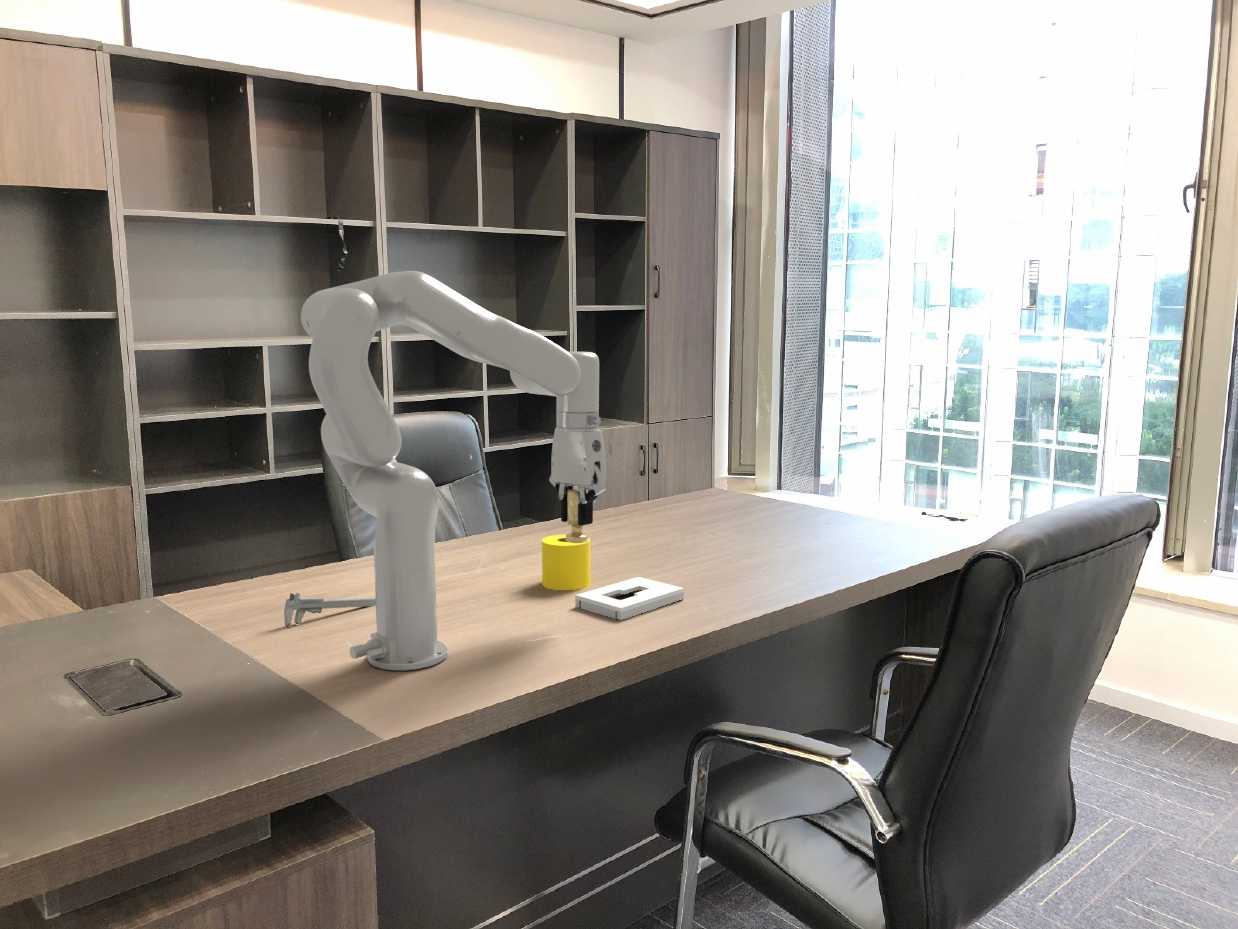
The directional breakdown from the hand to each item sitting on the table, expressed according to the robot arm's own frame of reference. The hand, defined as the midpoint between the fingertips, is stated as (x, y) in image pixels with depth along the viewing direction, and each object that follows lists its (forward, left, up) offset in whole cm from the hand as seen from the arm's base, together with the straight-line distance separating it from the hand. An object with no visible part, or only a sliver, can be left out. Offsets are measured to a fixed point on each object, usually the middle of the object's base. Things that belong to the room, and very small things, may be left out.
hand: (576, 521), depth 171 cm
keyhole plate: (+14, 0, -18) cm, 23 cm away
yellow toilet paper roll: (+15, +19, -19) cm, 31 cm away
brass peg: (0, 0, -4) cm, 4 cm away
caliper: (-29, +35, -19) cm, 49 cm away
